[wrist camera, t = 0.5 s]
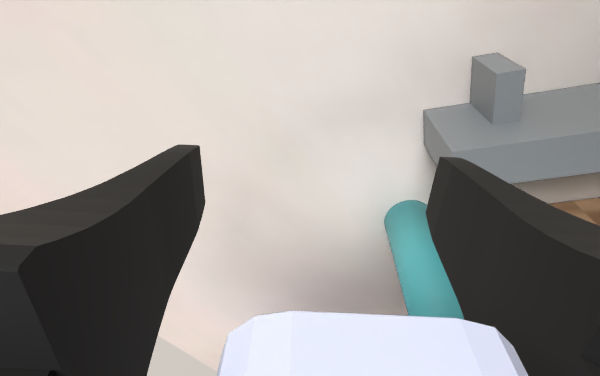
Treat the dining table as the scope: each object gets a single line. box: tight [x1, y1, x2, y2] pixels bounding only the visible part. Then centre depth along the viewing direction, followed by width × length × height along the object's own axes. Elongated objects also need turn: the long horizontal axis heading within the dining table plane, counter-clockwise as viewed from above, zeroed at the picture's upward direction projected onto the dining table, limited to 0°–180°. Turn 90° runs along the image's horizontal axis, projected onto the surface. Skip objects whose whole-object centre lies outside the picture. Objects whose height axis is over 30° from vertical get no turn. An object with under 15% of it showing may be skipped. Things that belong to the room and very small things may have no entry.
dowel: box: [385, 200, 464, 320], centre depth 21 cm, size 3×3×9 cm
